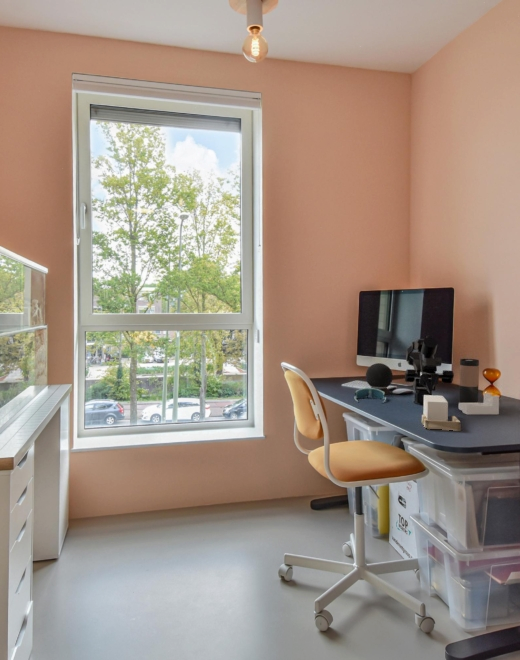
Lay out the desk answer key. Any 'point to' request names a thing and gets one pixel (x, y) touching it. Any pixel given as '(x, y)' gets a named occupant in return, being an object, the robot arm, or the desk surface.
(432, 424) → the birch slot
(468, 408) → the bracket
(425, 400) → the white cardboard box
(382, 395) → the sunglasses
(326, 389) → the desk surface
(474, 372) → the travel mug
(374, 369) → the black ball on stand
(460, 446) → the desk surface
